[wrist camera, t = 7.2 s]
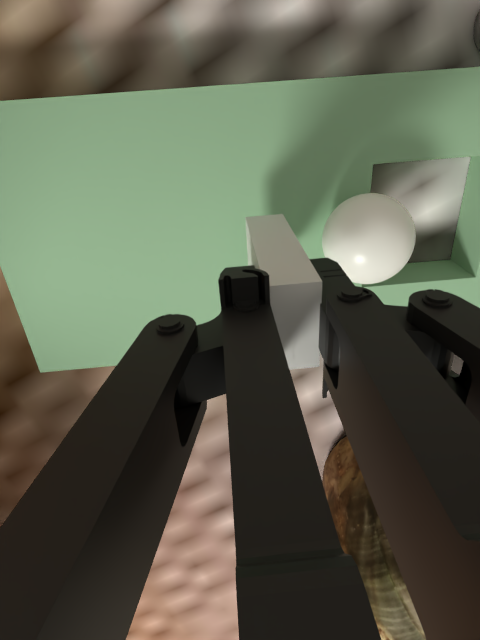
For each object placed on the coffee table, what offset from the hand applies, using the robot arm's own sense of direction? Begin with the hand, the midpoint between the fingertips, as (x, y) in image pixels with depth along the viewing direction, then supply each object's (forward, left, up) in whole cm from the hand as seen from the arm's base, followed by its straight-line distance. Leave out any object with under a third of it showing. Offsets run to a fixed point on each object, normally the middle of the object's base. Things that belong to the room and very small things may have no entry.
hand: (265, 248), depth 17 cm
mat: (+2, 0, -4) cm, 4 cm away
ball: (+4, 0, 0) cm, 4 cm away
